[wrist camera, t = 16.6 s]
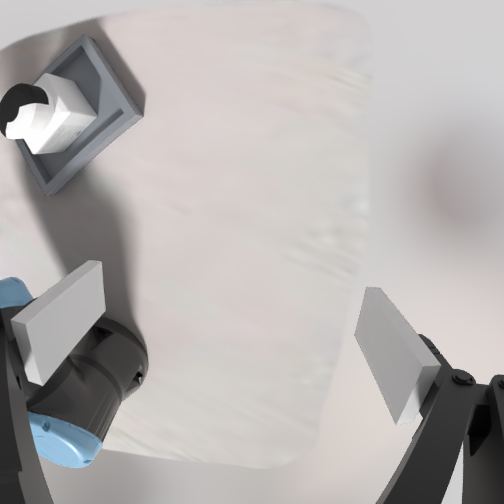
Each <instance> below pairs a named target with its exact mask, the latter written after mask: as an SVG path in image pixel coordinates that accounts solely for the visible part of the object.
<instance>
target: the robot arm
mask: <svg viewBox="0 0 504 504" xmlns="http://www.w3.org/2000/svg"><path fill="white" fill-rule="evenodd" d="M105 311H106V307H105V297H104V286H103V273H102V261H94V260H88V261H87V262H85V263H84V264H82V265H81V266H80V267H78V268H77V269H76V270H74V271H73V272H71V273H70V274H69V275H67V276H66V277H65V278H63V279H62V280H61V281H59V282H58V283H57V284H55V285H54V286H53V287H51V288H50V289H49V290H47V291H46V292H45V293H44V294H42V295H41V296H40V297H38V298H35V299H33V297H32V295H31V294H30V292H29V291H28V289H27V287H26V285H25V284H24V282H23V281H22V280H20V279H19V278H16V277H9V278H6V279H3V280H0V504H54V503H53V500H52V498H51V495H50V493H49V489H48V486H47V484H46V480H45V477H44V474H43V472H42V468H41V465H40V461H39V458H38V454H39V455H40V456H42V457H44V458H46V459H47V460H49V461H52V462H54V463H56V464H59V465H63V466H66V467H72V468H81V467H85V466H87V465H89V464H90V463H91V462H92V461H93V459H94V458H95V456H96V454H97V453H98V451H99V450H100V449H101V448H102V443H103V441H104V438H105V436H106V434H107V432H108V430H109V427H110V425H111V423H112V421H113V419H114V417H115V415H116V412H117V410H118V408H119V406H120V404H121V402H122V401H124V400H125V399H126V398H127V397H129V396H130V395H131V394H132V393H134V392H135V391H136V390H137V389H138V388H139V387H140V386H141V385H142V383H143V381H144V379H145V377H146V374H147V371H148V360H147V356H146V353H145V351H144V349H143V347H142V345H141V344H140V342H139V341H138V340H137V338H136V337H135V336H134V335H133V334H132V333H131V332H130V331H129V330H127V329H126V328H125V327H123V326H122V325H120V324H118V323H116V322H114V321H112V320H109V319H106V318H101V317H100V316H101V315H102V314H103V313H104V312H105ZM354 335H355V337H356V340H357V342H358V344H359V346H360V348H361V350H362V352H363V354H364V356H365V358H366V360H367V363H368V365H369V367H370V369H371V371H372V373H373V376H374V378H375V380H376V382H377V384H378V386H379V389H380V391H381V393H382V395H383V397H384V400H385V402H386V404H387V406H388V408H389V411H390V413H391V415H392V418H393V420H394V422H395V424H396V425H402V424H411V423H413V422H414V421H415V418H416V417H417V415H418V413H419V412H420V414H421V415H422V417H423V420H422V422H421V423H420V425H419V427H418V429H417V430H416V432H415V434H414V436H413V437H412V442H411V443H410V445H409V447H408V449H407V451H406V453H405V455H404V457H403V458H402V460H401V462H400V464H399V466H398V467H397V469H396V471H395V473H394V474H393V476H392V478H391V480H390V481H389V483H388V485H387V486H386V488H385V490H384V491H383V493H382V494H381V496H380V498H379V499H378V501H377V502H376V504H441V502H442V500H443V497H444V495H445V492H446V490H447V487H448V485H449V482H450V479H451V476H452V473H453V471H454V467H455V465H456V462H457V459H458V455H459V452H460V449H461V446H462V442H463V493H462V504H504V375H495V376H494V377H493V378H492V380H491V382H490V383H489V385H484V384H476V381H475V379H474V377H473V376H472V375H470V374H469V373H467V372H465V371H463V370H459V369H453V368H452V367H451V366H450V365H449V363H448V362H447V361H446V359H445V358H444V357H443V355H442V354H440V352H439V351H438V349H437V348H436V347H435V345H434V344H433V343H432V342H431V340H429V339H428V338H426V337H425V336H423V335H422V334H417V333H416V331H415V330H414V329H413V328H412V326H411V325H410V324H409V323H408V322H407V320H406V319H405V318H404V316H403V315H402V314H401V313H400V311H399V310H398V309H397V308H396V307H395V305H394V304H393V303H392V302H391V300H390V299H389V298H388V297H387V295H386V294H385V293H384V292H383V291H382V289H381V288H376V287H366V290H365V295H364V299H363V303H362V307H361V311H360V315H359V319H358V323H357V327H356V331H355V334H354Z"/></svg>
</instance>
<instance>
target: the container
mask: <svg viewBox="0 0 504 504" xmlns="http://www.w3.org/2000/svg"><path fill="white" fill-rule="evenodd" d="M96 118H97V114H96V113H95V111H94V110H93V108H92V107H91V105H90V104H89V102H88V101H87V100H86V98H85V97H84V95H83V94H82V92H81V91H80V89H79V88H78V87H77V85H76V84H75V82H74V81H71V80H68V79H65V78H62V77H58V76H55V75H52V74H48V73H45V74H43V75H42V77H41V78H40V79H39V80H38V81H37V82H36V83H35V85H29V84H23V83H21V84H17V85H15V86H13V87H12V88H11V89H9V90H8V92H7V93H6V94H5V95H4V97H3V99H2V100H1V103H0V131H1V133H2V134H3V135H4V136H5V137H6V138H9V139H24V140H25V142H26V143H27V145H28V147H29V148H30V150H31V152H32V153H33V154H43V153H57V152H64V151H65V150H66V149H67V148H68V147H69V146H70V145H71V143H72V142H73V141H74V140H75V139H76V138H77V137H78V136H79V135H80V134H81V133H82V132H83V131H84V130H85V129H86V128H87V127H88V126H89V125H90V124H91V123H92V122H93V121H94V120H95V119H96Z"/></svg>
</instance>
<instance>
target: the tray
mask: <svg viewBox="0 0 504 504" xmlns="http://www.w3.org/2000/svg"><path fill="white" fill-rule="evenodd" d="M45 73H48V74H52V75H55V76H58V77H62V78H65V79H68V80H71V81H74V82H75V84H76V85H77V87H78V88H79V89H80V91H81V92H82V94H83V95H84V97H85V98H86V100H87V101H88V102H89V104H90V105H91V107H92V108H93V110H94V111H95V113H96V114H97V118H96V119H95V120H94V121H93V122H92V123H91V124H90V125H89V126H88V127H87V128H86V129H85V130H84V131H83V132H82V133H81V134H80V135H79V136H78V137H77V138H76V139H75V140H74V141H73V142H72V143H71V145H70V146H69V147H68V148H67V149H66V150H65V151H64V152H57V153H43V154H33V153H32V152H31V150H30V148H29V147H28V145H27V143H26V142H25V140H24V139H15V140H16V142H17V144H18V146H19V148H20V150H21V152H22V154H23V156H24V158H25V160H26V162H27V164H28V166H29V168H30V169H31V171H32V173H33V175H34V177H35V179H36V180H37V182H38V184H39V186H40V187H41V189H42V191H43V193H44V194H45V196H49V195H53V194H56V193H57V192H58V191H59V190H60V189H61V188H62V187H63V186H64V185H66V184H67V183H68V182H69V181H70V180H71V179H72V178H73V177H74V176H75V175H76V174H77V173H78V172H79V171H80V170H81V169H82V168H83V167H84V166H86V165H87V164H88V163H89V162H90V161H91V160H92V159H93V158H94V157H96V156H97V155H98V154H99V153H100V152H101V151H102V150H103V149H105V148H106V147H107V146H108V145H109V144H110V143H112V142H113V141H114V140H115V139H116V138H118V137H119V136H120V135H121V134H122V133H124V132H125V131H126V130H127V129H129V128H130V127H131V126H132V125H134V124H135V123H136V122H137V121H139V120H140V119H141V118H143V115H142V114H141V112H140V111H139V109H138V107H137V106H136V104H135V103H134V101H133V100H132V98H131V97H130V95H129V94H128V92H127V91H126V89H125V88H124V86H123V84H122V83H121V81H120V80H119V78H118V77H117V75H116V74H115V72H114V71H113V69H112V68H111V66H110V64H109V63H108V61H107V60H106V58H105V57H104V55H103V54H102V52H101V50H100V49H99V47H98V46H97V44H96V43H95V41H94V40H93V39H92V38H90V37H88V36H87V35H85V34H84V35H83V36H82V37H80V38H79V39H78V40H77V41H76V42H75V43H74V44H73V45H71V46H70V47H69V48H68V49H67V50H66V51H65V52H64V53H63V54H62V55H61V56H60V57H59V58H58V59H56V60H55V61H54V62H53V63H52V64H51V65H50V66H49V67H48V68H47V69H46V70H45V71H44V73H43V74H45ZM43 74H42V75H43ZM42 75H41V76H40V77H39V78H38V79H37V80H36V81H35V82H34V83H33V84H32V85H35V83H36V82H37V81H38V80H39V79H40V78H41V77H42Z"/></svg>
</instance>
